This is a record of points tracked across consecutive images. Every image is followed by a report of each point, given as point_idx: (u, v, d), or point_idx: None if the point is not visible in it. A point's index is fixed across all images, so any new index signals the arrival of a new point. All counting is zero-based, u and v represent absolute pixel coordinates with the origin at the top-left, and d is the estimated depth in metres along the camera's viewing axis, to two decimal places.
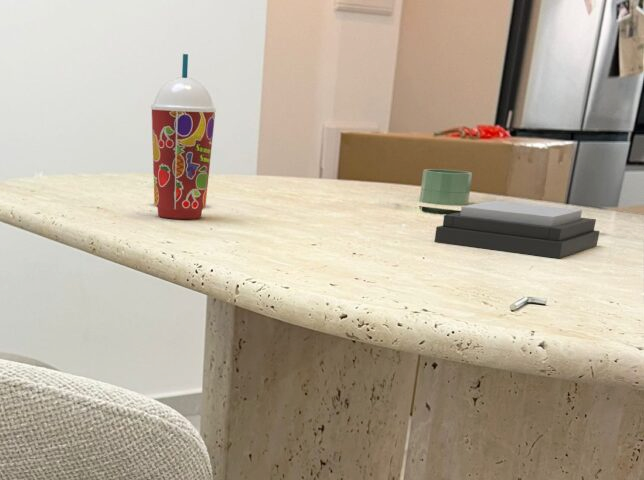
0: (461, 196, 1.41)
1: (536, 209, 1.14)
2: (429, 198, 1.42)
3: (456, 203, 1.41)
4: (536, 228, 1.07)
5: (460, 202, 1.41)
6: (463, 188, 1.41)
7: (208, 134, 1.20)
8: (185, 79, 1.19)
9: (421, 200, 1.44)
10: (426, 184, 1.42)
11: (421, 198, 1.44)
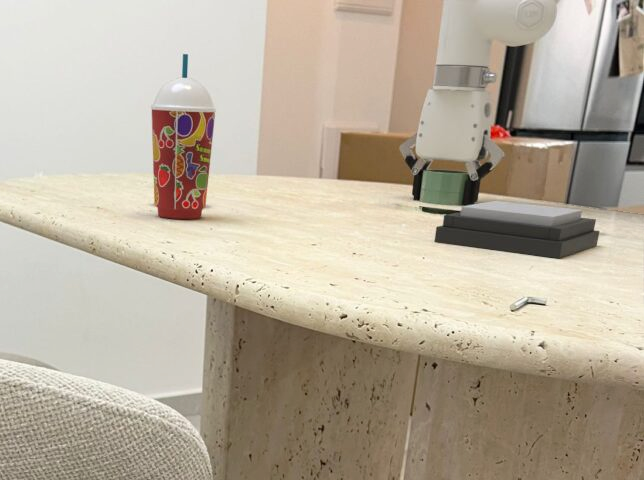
0: (461, 196, 1.41)
1: (536, 209, 1.14)
2: (429, 198, 1.42)
3: (456, 203, 1.41)
4: (536, 228, 1.07)
5: (460, 202, 1.41)
6: (463, 188, 1.41)
7: (208, 134, 1.20)
8: (185, 79, 1.19)
9: (421, 200, 1.44)
10: (426, 184, 1.42)
11: (421, 198, 1.44)
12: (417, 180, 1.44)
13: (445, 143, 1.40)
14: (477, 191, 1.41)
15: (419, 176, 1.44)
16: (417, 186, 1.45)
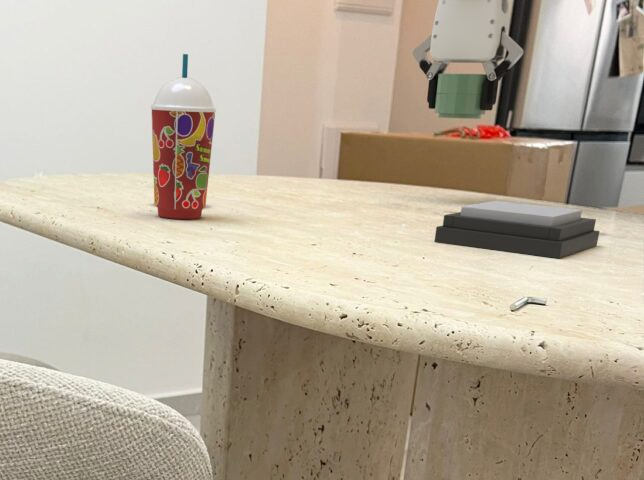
0: (478, 98, 1.36)
1: (536, 209, 1.14)
2: (445, 102, 1.37)
3: (473, 106, 1.36)
4: (536, 228, 1.07)
5: (477, 105, 1.36)
6: (481, 90, 1.36)
7: (208, 134, 1.20)
8: (185, 79, 1.19)
9: (437, 105, 1.39)
10: (442, 87, 1.37)
11: (437, 103, 1.39)
12: (432, 85, 1.39)
13: (461, 43, 1.34)
14: (495, 92, 1.36)
15: (434, 80, 1.39)
16: (432, 91, 1.40)
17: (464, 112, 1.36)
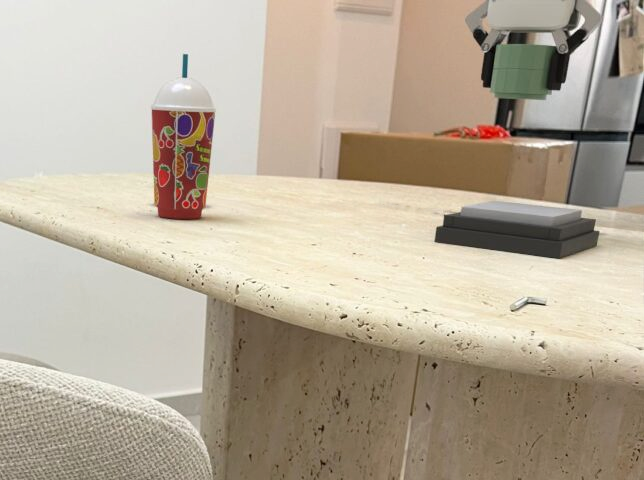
0: (545, 75, 1.12)
1: (536, 209, 1.14)
2: (504, 79, 1.13)
3: (539, 84, 1.12)
4: (536, 228, 1.07)
5: (543, 83, 1.12)
6: (548, 65, 1.12)
7: (208, 134, 1.20)
8: (185, 79, 1.19)
9: (493, 83, 1.15)
10: (500, 61, 1.13)
11: (493, 80, 1.15)
12: (488, 59, 1.16)
13: (527, 7, 1.11)
14: (566, 69, 1.12)
15: (491, 53, 1.15)
16: (488, 66, 1.16)
17: (527, 91, 1.12)
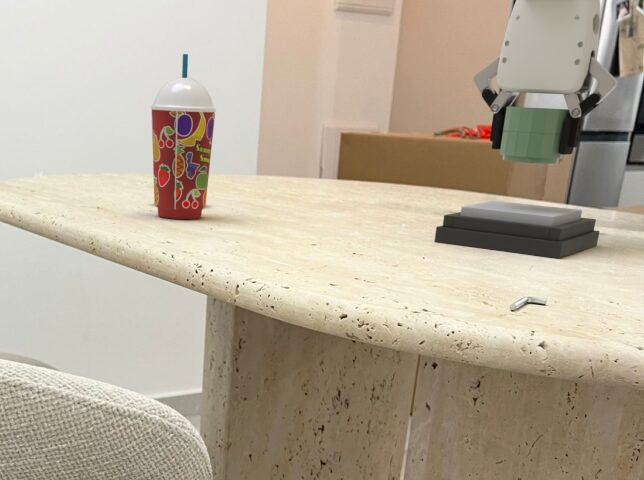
0: (557, 139, 1.08)
1: (536, 209, 1.14)
2: (515, 142, 1.09)
3: (551, 148, 1.08)
4: (536, 228, 1.07)
5: (556, 147, 1.09)
6: (561, 129, 1.08)
7: (208, 134, 1.20)
8: (185, 79, 1.19)
9: (503, 145, 1.11)
10: (511, 124, 1.09)
11: (503, 143, 1.11)
12: (498, 120, 1.12)
13: (538, 69, 1.07)
14: (578, 133, 1.08)
15: (501, 115, 1.12)
16: (498, 128, 1.12)
17: (539, 156, 1.09)
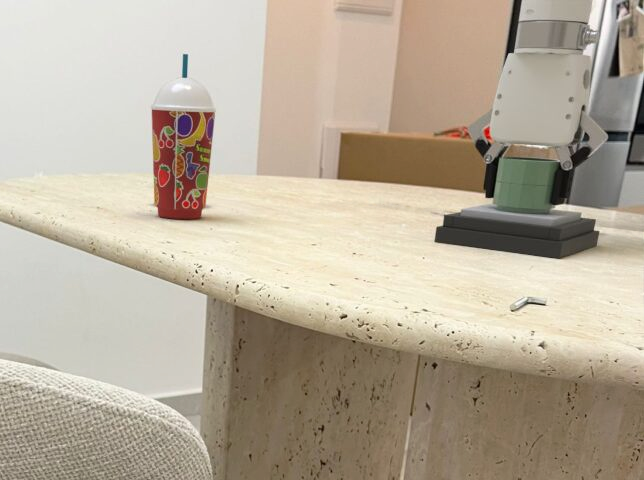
0: (549, 190, 1.10)
1: None
2: (508, 193, 1.11)
3: (543, 199, 1.10)
4: (536, 228, 1.07)
5: (548, 198, 1.11)
6: (552, 181, 1.10)
7: (208, 134, 1.20)
8: (185, 79, 1.19)
9: (496, 196, 1.13)
10: (504, 175, 1.12)
11: (496, 193, 1.13)
12: (491, 170, 1.14)
13: (530, 122, 1.09)
14: (570, 184, 1.10)
15: (494, 165, 1.14)
16: (491, 178, 1.14)
17: (531, 207, 1.11)
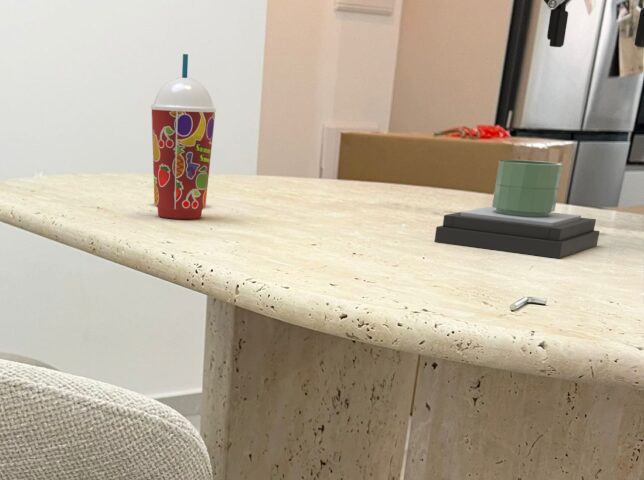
0: (549, 193, 1.11)
1: None
2: (507, 196, 1.12)
3: (542, 202, 1.11)
4: (536, 228, 1.07)
5: (547, 202, 1.11)
6: (552, 184, 1.10)
7: (208, 134, 1.20)
8: (185, 79, 1.19)
9: (496, 199, 1.13)
10: (503, 178, 1.12)
11: (496, 196, 1.13)
12: (556, 16, 1.12)
13: None
14: None
15: (559, 10, 1.11)
16: (556, 24, 1.12)
17: (530, 210, 1.11)
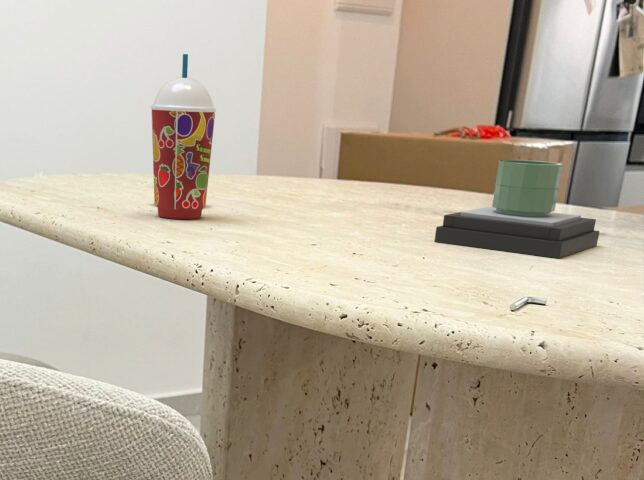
0: (549, 193, 1.11)
1: None
2: (507, 196, 1.12)
3: (542, 202, 1.11)
4: (536, 228, 1.07)
5: (547, 202, 1.11)
6: (552, 184, 1.10)
7: (208, 134, 1.20)
8: (185, 79, 1.19)
9: (496, 199, 1.13)
10: (503, 178, 1.12)
11: (496, 196, 1.13)
12: None
13: None
14: None
15: None
16: None
17: (530, 210, 1.11)
